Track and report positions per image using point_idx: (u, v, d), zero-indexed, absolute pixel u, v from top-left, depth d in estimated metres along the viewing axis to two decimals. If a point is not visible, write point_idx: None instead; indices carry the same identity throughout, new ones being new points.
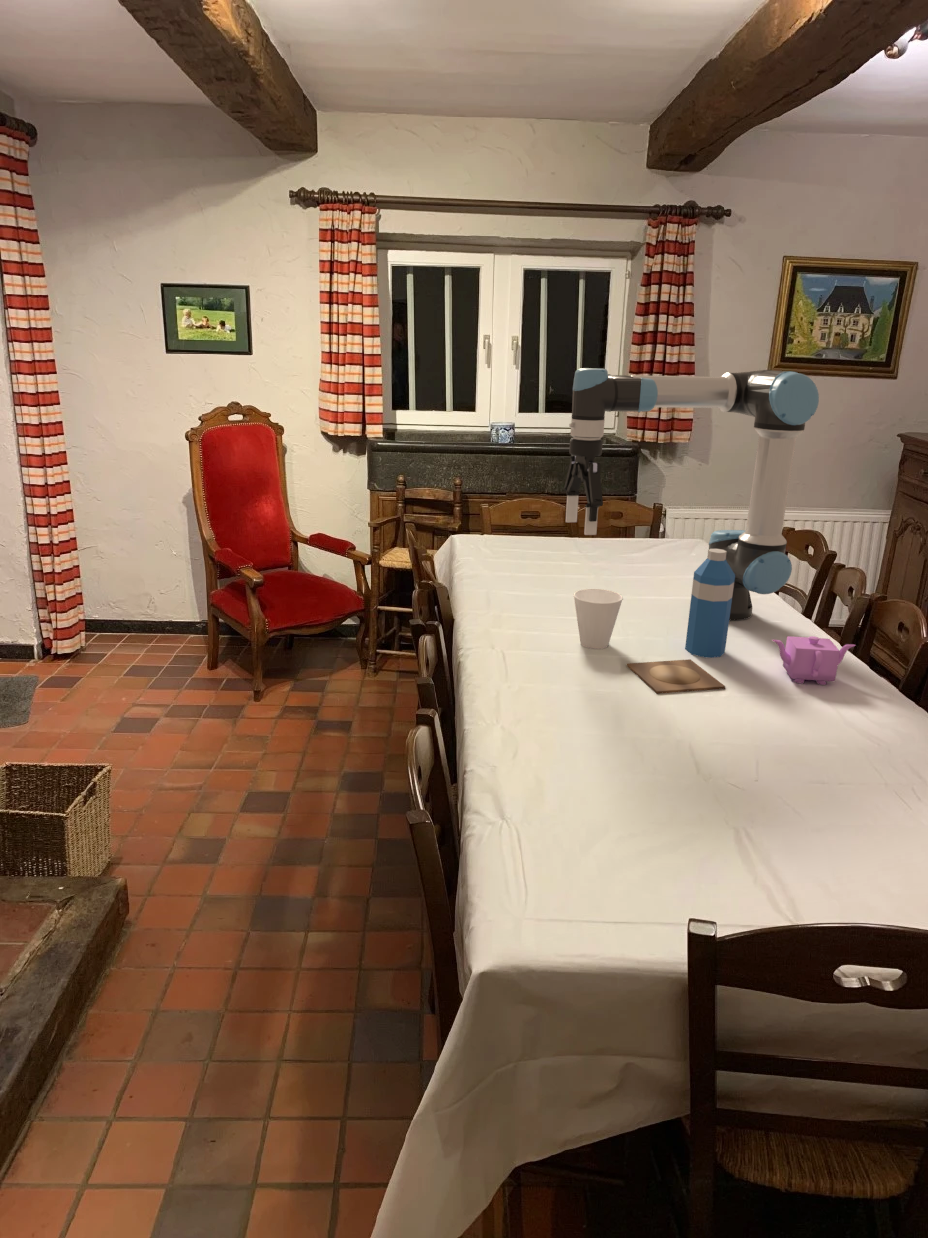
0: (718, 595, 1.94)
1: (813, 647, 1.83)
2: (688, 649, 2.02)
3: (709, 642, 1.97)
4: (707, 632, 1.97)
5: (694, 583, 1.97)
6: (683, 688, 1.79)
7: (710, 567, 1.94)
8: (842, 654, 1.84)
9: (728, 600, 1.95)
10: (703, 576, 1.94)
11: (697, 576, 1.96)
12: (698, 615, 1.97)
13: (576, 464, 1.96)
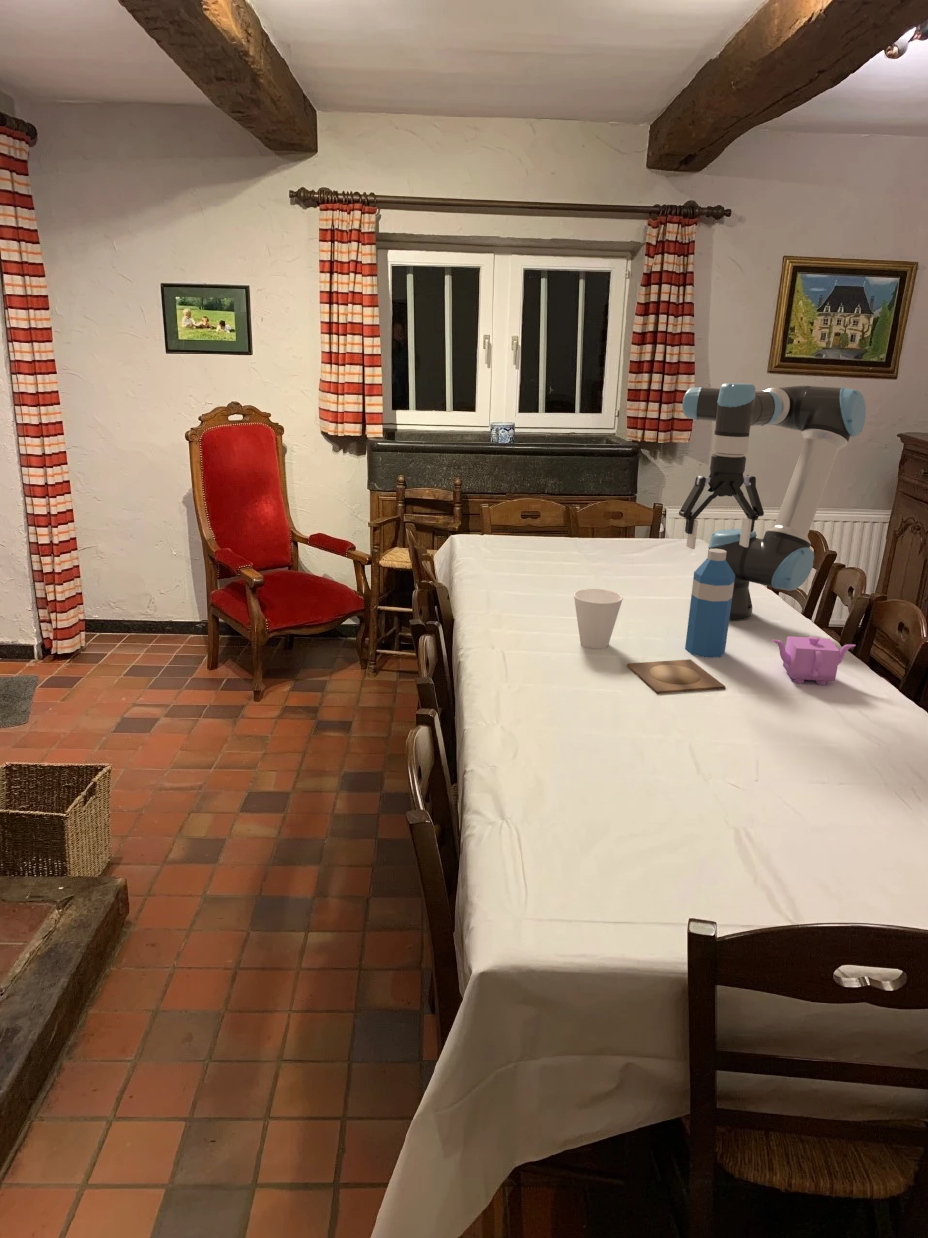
0: (718, 595, 1.94)
1: (813, 647, 1.83)
2: (688, 649, 2.02)
3: (709, 642, 1.97)
4: (707, 632, 1.97)
5: (694, 583, 1.97)
6: (683, 688, 1.79)
7: (710, 567, 1.94)
8: (842, 654, 1.84)
9: (728, 600, 1.95)
10: (703, 576, 1.94)
11: (697, 576, 1.96)
12: (698, 615, 1.97)
13: None
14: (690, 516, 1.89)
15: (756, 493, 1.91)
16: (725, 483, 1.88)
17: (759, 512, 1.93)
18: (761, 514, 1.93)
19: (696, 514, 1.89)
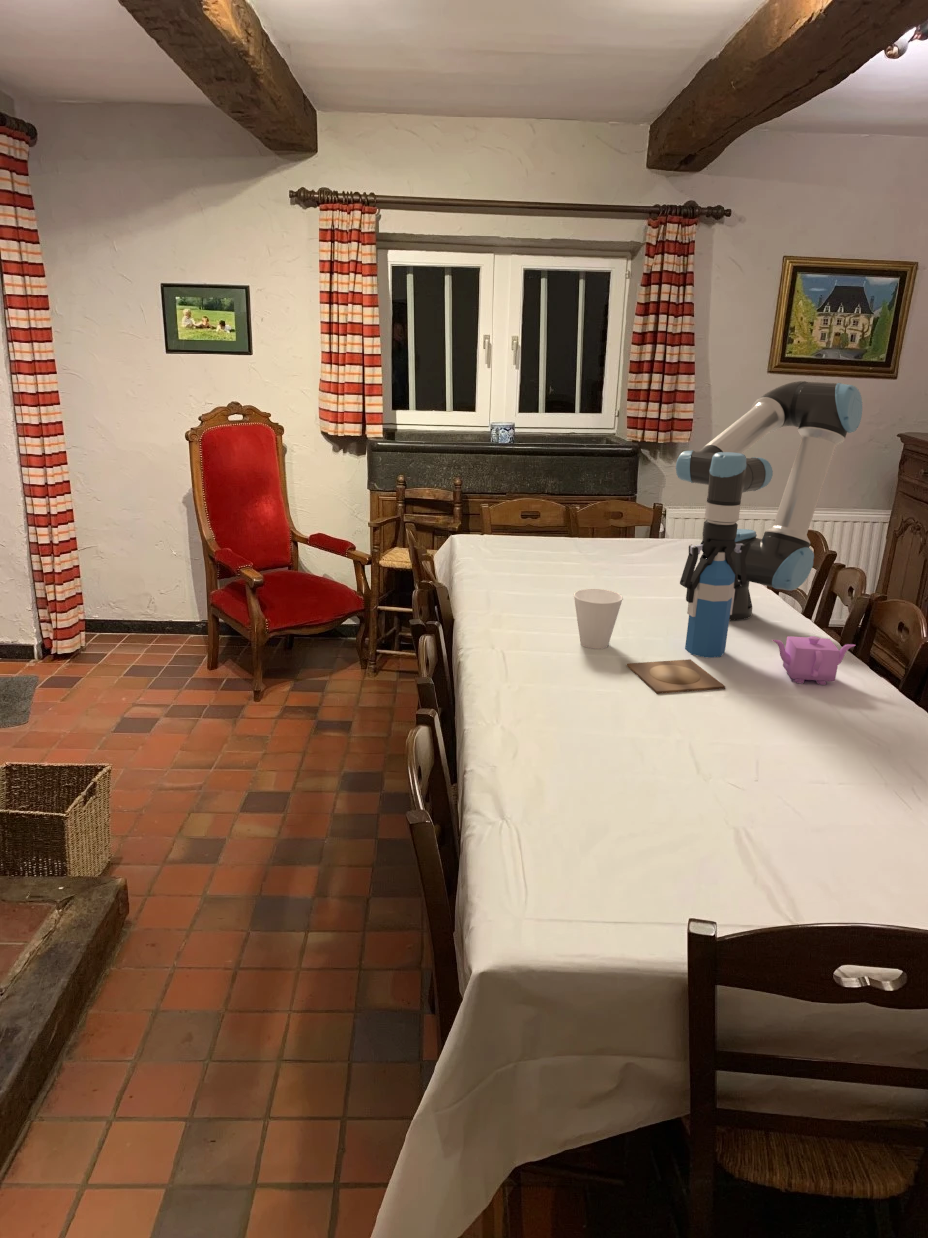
0: (718, 595, 1.94)
1: (813, 647, 1.83)
2: (688, 649, 2.02)
3: (709, 642, 1.97)
4: (707, 632, 1.97)
5: None
6: (683, 688, 1.79)
7: (710, 567, 1.94)
8: (842, 654, 1.84)
9: (728, 600, 1.95)
10: (703, 576, 1.94)
11: None
12: (698, 615, 1.97)
13: None
14: (690, 586, 1.95)
15: (744, 562, 1.96)
16: (717, 549, 1.92)
17: (742, 581, 1.98)
18: (744, 583, 1.98)
19: (696, 583, 1.95)
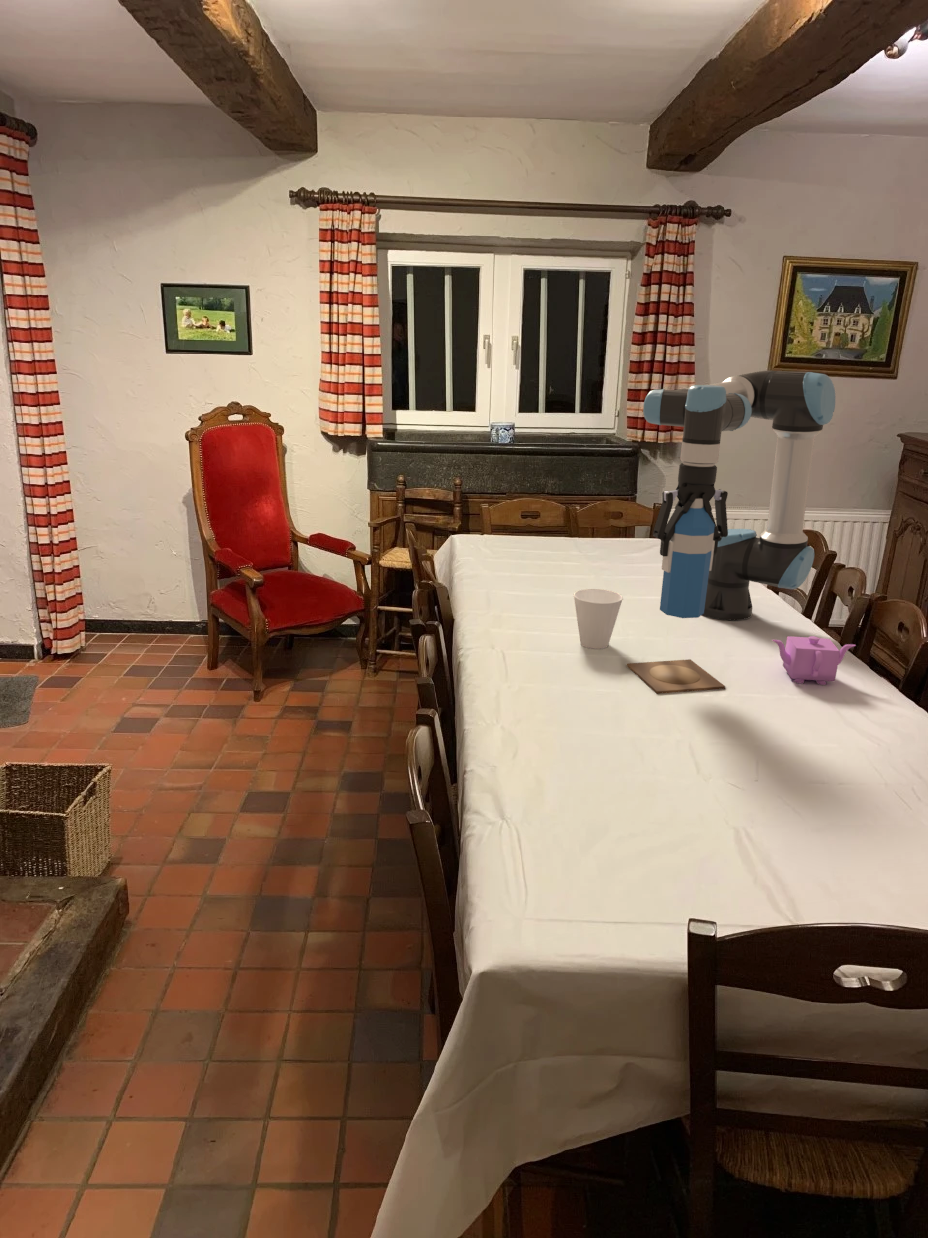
0: (695, 546, 1.73)
1: (813, 647, 1.83)
2: (663, 609, 1.81)
3: (686, 600, 1.76)
4: (684, 589, 1.75)
5: None
6: (683, 688, 1.79)
7: (686, 515, 1.73)
8: (842, 654, 1.84)
9: (707, 553, 1.74)
10: (679, 525, 1.73)
11: None
12: (673, 570, 1.76)
13: None
14: (665, 538, 1.74)
15: (724, 510, 1.75)
16: (694, 495, 1.71)
17: (723, 532, 1.76)
18: (725, 535, 1.77)
19: (671, 534, 1.74)
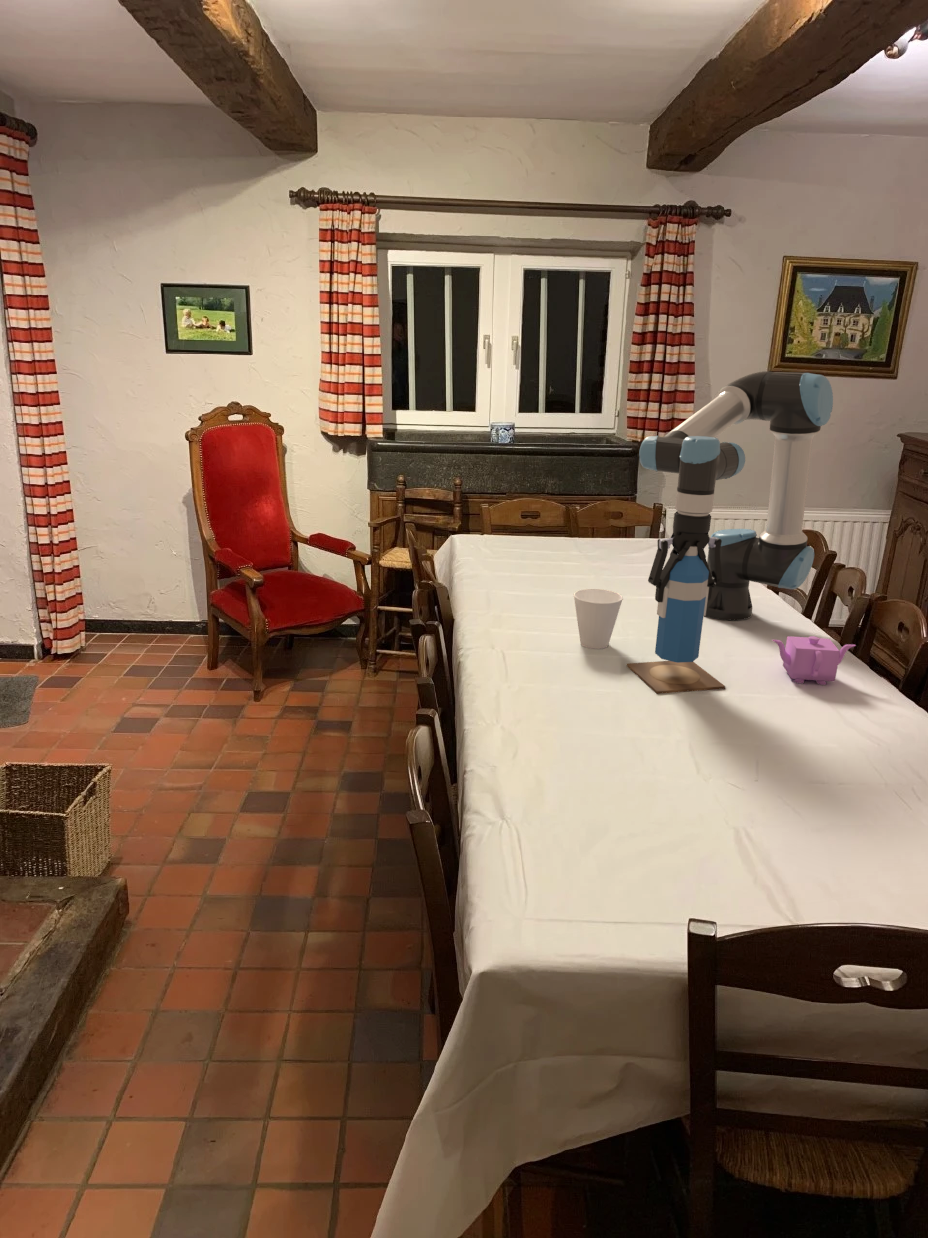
0: (690, 593, 1.76)
1: (813, 647, 1.83)
2: (658, 653, 1.84)
3: (681, 645, 1.79)
4: (679, 634, 1.79)
5: None
6: (683, 688, 1.79)
7: (681, 563, 1.76)
8: (842, 654, 1.84)
9: (701, 599, 1.77)
10: (674, 572, 1.76)
11: None
12: (668, 616, 1.79)
13: None
14: (660, 584, 1.77)
15: (718, 557, 1.78)
16: (688, 543, 1.75)
17: (717, 578, 1.80)
18: (719, 581, 1.80)
19: (666, 581, 1.77)
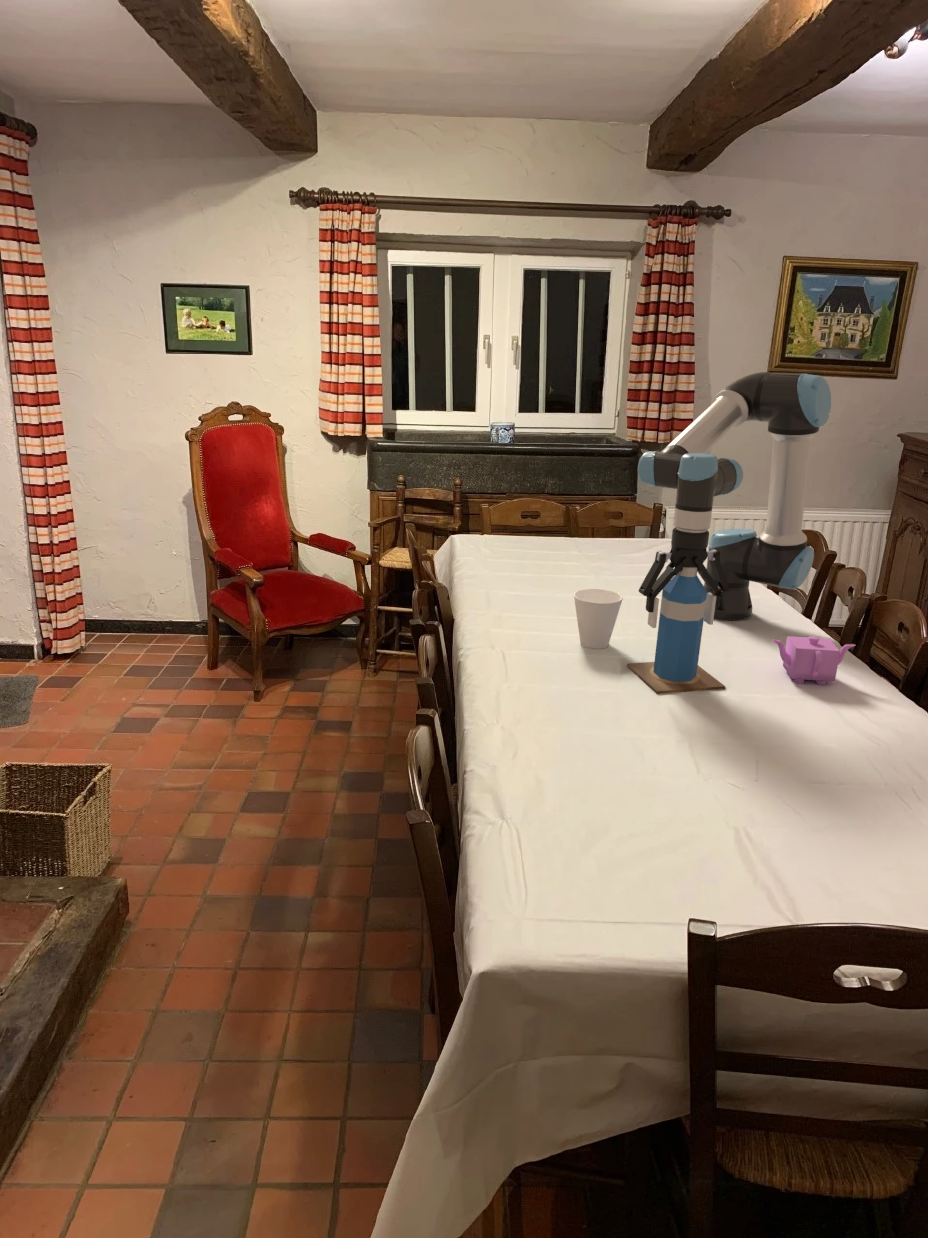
0: (688, 614, 1.77)
1: (813, 647, 1.83)
2: (656, 672, 1.85)
3: (679, 665, 1.81)
4: (677, 654, 1.80)
5: (663, 601, 1.81)
6: (683, 688, 1.79)
7: (680, 584, 1.77)
8: (842, 654, 1.84)
9: (699, 620, 1.79)
10: (672, 593, 1.77)
11: (665, 593, 1.79)
12: (667, 636, 1.80)
13: None
14: (650, 594, 1.78)
15: (720, 568, 1.79)
16: (687, 559, 1.76)
17: (724, 588, 1.81)
18: (726, 590, 1.81)
19: (657, 592, 1.77)
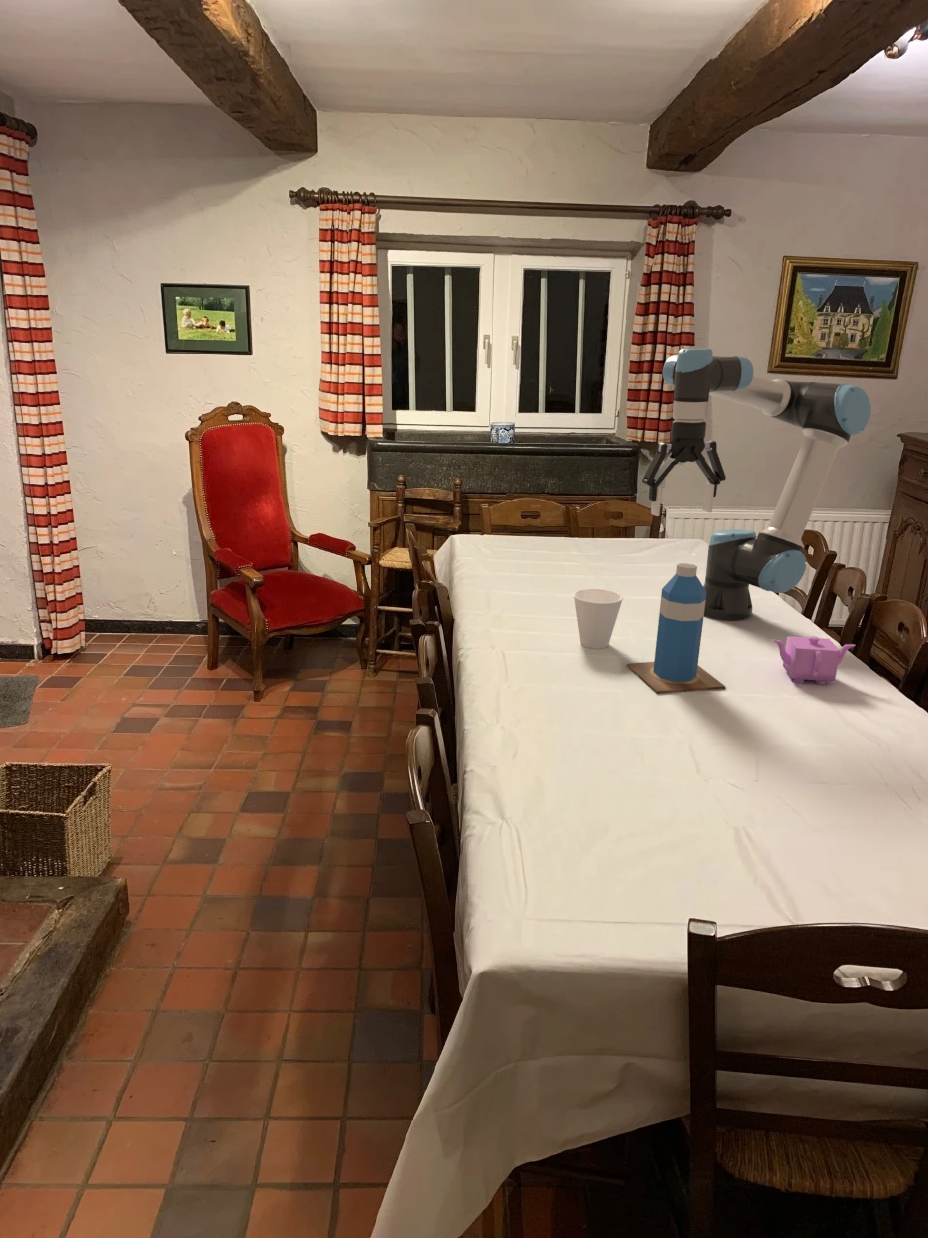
0: (688, 614, 1.77)
1: (813, 647, 1.83)
2: (656, 672, 1.85)
3: (679, 665, 1.81)
4: (677, 654, 1.80)
5: (662, 601, 1.81)
6: (683, 688, 1.79)
7: (679, 584, 1.77)
8: (842, 654, 1.84)
9: (699, 619, 1.79)
10: (672, 593, 1.77)
11: (665, 593, 1.80)
12: (667, 636, 1.80)
13: None
14: (653, 483, 1.90)
15: (717, 458, 1.92)
16: (686, 449, 1.89)
17: (721, 477, 1.94)
18: (723, 479, 1.95)
19: (659, 481, 1.90)
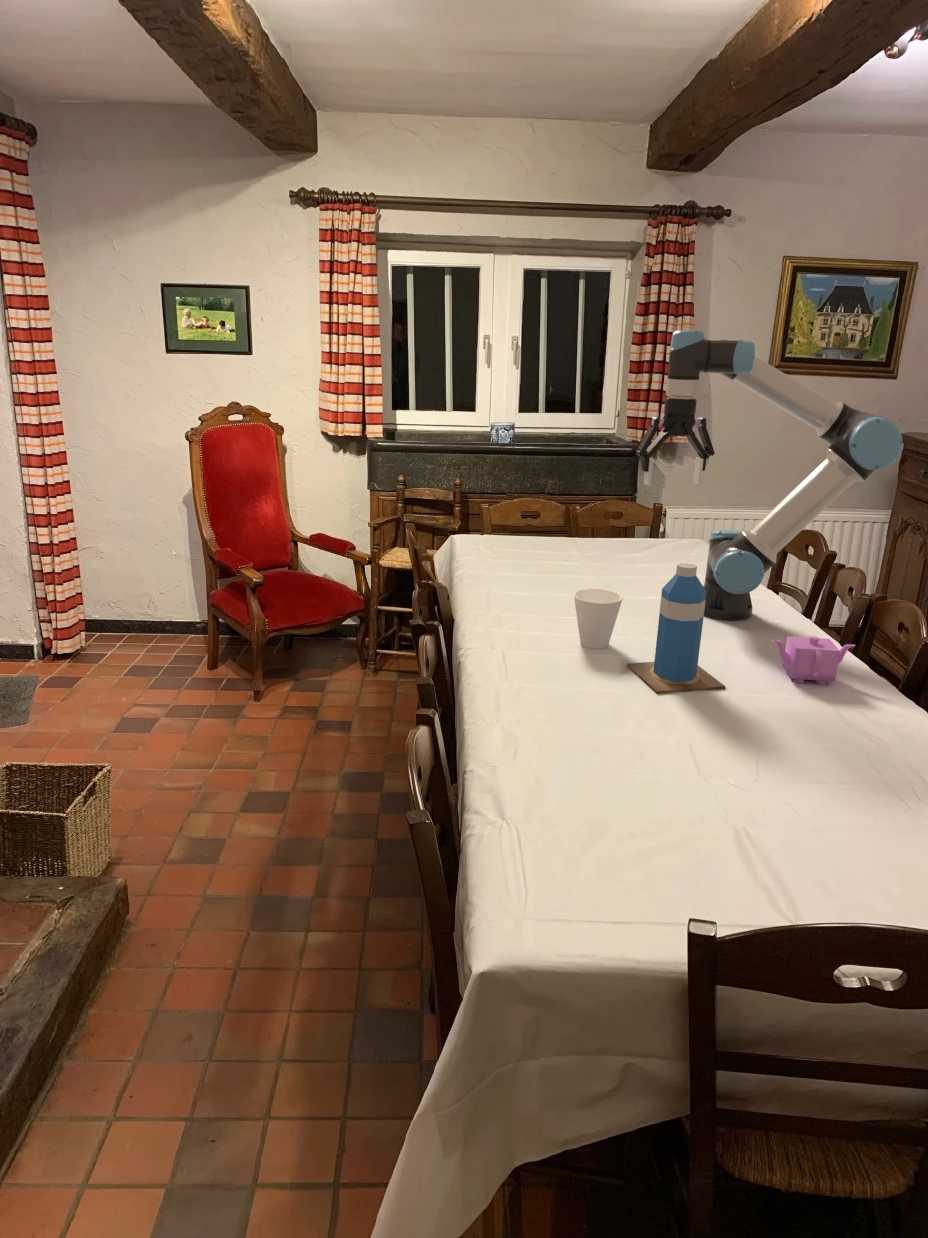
0: (688, 614, 1.77)
1: (813, 647, 1.83)
2: (656, 672, 1.85)
3: (679, 665, 1.81)
4: (677, 654, 1.80)
5: (662, 601, 1.81)
6: (683, 688, 1.79)
7: (679, 584, 1.77)
8: (842, 654, 1.84)
9: (699, 619, 1.79)
10: (672, 593, 1.77)
11: (665, 593, 1.80)
12: (667, 636, 1.80)
13: None
14: (646, 455, 2.06)
15: (707, 434, 2.07)
16: (677, 424, 2.04)
17: (710, 452, 2.09)
18: (712, 453, 2.09)
19: (651, 453, 2.06)
